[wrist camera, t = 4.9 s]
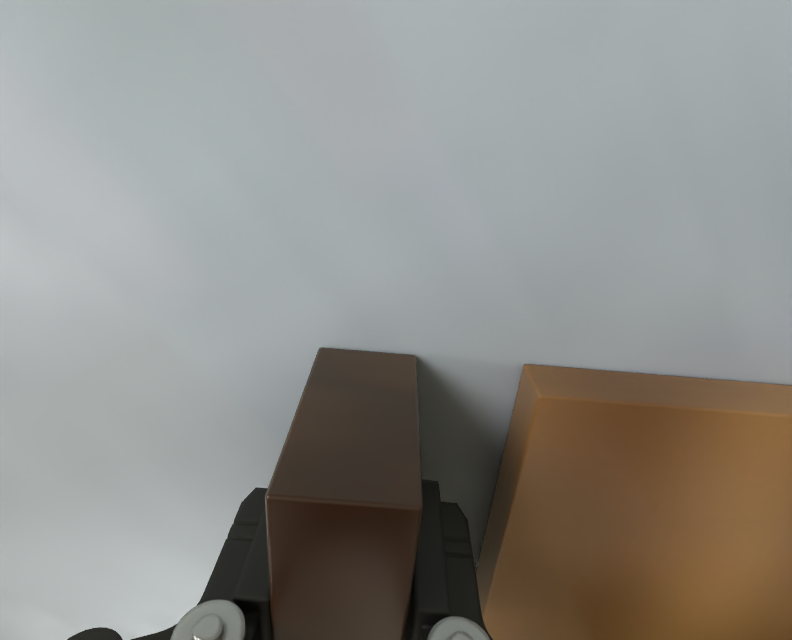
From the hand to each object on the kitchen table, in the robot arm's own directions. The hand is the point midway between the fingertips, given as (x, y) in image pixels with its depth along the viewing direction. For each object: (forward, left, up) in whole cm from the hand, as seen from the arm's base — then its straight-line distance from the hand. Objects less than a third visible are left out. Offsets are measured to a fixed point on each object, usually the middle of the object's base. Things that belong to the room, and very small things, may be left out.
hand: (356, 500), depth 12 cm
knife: (0, -4, -1) cm, 4 cm away
